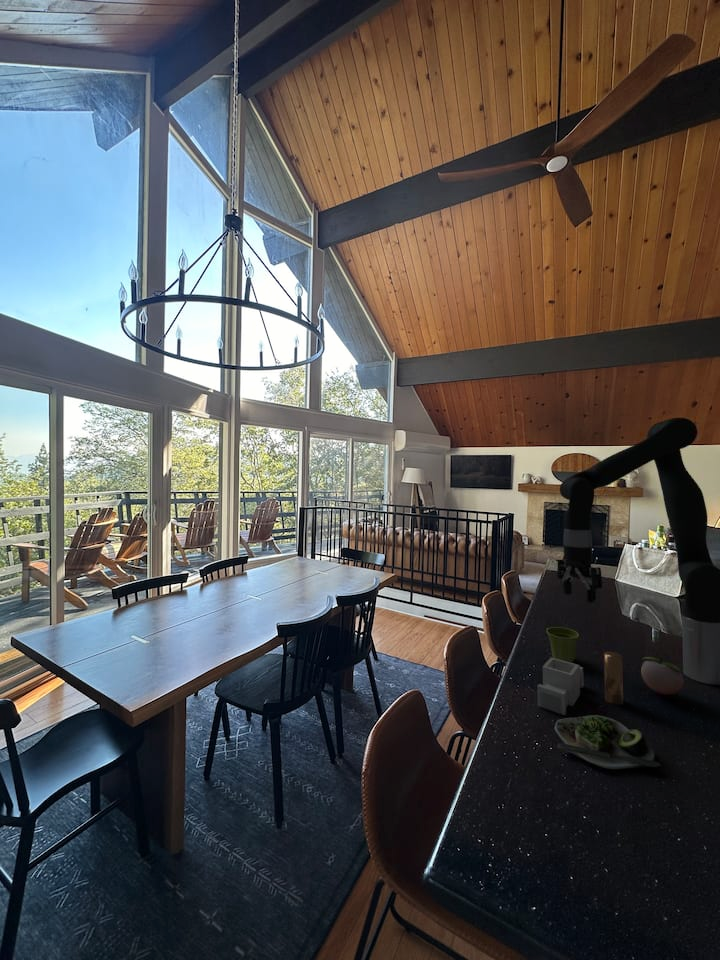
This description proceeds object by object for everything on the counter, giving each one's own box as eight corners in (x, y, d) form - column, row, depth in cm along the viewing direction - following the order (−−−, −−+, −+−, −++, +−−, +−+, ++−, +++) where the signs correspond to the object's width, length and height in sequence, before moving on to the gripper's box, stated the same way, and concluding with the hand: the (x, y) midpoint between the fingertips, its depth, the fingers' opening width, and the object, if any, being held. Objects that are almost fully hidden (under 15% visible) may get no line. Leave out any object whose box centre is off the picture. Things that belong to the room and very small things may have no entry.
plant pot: (546, 662, 127) (545, 635, 127) (547, 650, 135) (547, 625, 135) (579, 668, 122) (579, 640, 122) (579, 655, 131) (578, 629, 130)
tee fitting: (585, 686, 112) (584, 658, 112) (566, 716, 98) (565, 683, 98) (557, 678, 117) (556, 650, 117) (536, 705, 103) (535, 674, 103)
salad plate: (582, 783, 77) (582, 759, 77) (533, 726, 95) (533, 707, 95) (674, 774, 79) (674, 750, 79) (610, 720, 97) (609, 701, 97)
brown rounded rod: (624, 700, 105) (623, 654, 105) (621, 706, 102) (620, 659, 102) (606, 694, 107) (605, 650, 107) (603, 701, 104) (602, 655, 104)
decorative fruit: (636, 693, 108) (635, 656, 108) (645, 683, 113) (644, 647, 113) (679, 708, 100) (679, 668, 100) (687, 696, 106) (687, 658, 106)
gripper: (608, 546, 114) (609, 603, 114) (569, 539, 128) (570, 590, 128) (587, 548, 112) (588, 606, 112) (549, 541, 126) (551, 593, 126)
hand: (578, 598), depth 120 cm, fingers open, 8 cm apart
